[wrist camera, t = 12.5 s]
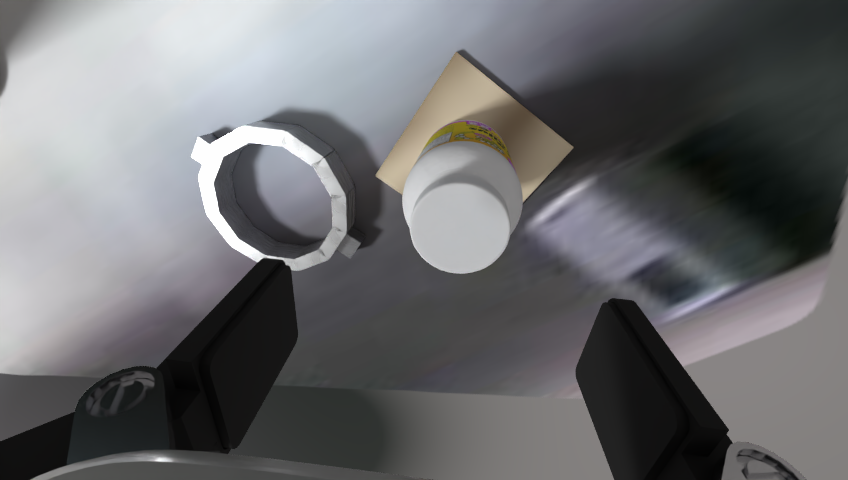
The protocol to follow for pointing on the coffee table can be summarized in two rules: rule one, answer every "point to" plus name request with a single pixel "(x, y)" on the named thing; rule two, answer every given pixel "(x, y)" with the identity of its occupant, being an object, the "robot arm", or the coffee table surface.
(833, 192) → the coffee table surface
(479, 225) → the supplement bottle
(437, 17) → the coffee table surface
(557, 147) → the mat
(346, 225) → the collar
